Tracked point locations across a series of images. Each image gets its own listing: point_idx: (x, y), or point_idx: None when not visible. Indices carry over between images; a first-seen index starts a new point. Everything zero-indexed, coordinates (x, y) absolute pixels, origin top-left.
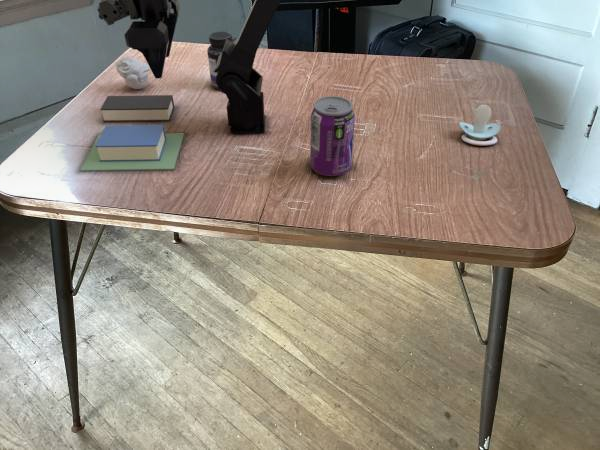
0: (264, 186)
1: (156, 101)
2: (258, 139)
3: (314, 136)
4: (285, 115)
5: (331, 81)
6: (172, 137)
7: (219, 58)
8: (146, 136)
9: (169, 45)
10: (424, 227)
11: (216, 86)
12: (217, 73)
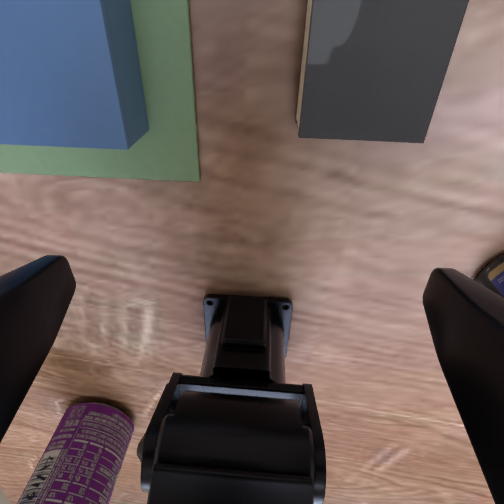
0: None
1: (376, 73)
2: (185, 338)
3: (35, 479)
4: (290, 382)
5: (425, 448)
6: (168, 148)
7: (264, 494)
8: (21, 90)
9: (456, 385)
10: (2, 460)
11: (497, 266)
12: (160, 461)
